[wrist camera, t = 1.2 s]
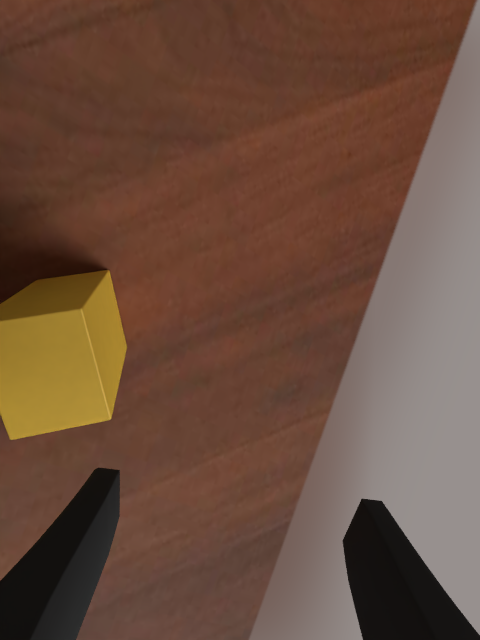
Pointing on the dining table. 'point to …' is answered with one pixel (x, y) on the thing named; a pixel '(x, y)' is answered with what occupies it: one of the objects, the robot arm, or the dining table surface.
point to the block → (60, 354)
